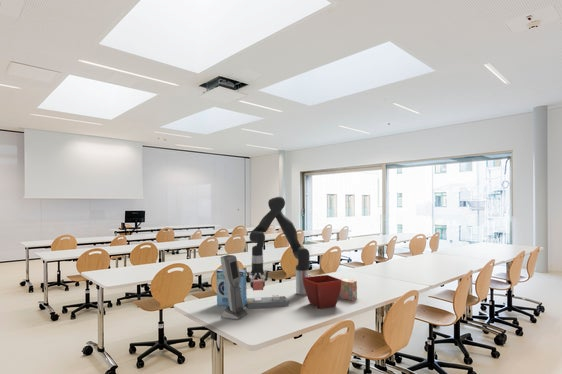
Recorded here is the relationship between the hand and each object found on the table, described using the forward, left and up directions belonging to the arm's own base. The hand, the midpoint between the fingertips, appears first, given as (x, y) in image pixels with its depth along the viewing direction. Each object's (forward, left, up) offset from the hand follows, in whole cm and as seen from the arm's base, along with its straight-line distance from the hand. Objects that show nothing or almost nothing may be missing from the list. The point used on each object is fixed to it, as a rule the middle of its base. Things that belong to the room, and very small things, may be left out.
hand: (257, 287), depth 223 cm
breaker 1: (0, 0, -10) cm, 10 cm away
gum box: (+17, -3, -12) cm, 21 cm away
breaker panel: (-6, 0, -11) cm, 13 cm away
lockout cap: (0, 0, -1) cm, 1 cm away
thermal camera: (+16, +18, -11) cm, 27 cm away
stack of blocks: (-60, -6, -12) cm, 61 cm away
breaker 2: (-12, 0, -9) cm, 15 cm away
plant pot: (-41, +9, -12) cm, 44 cm away
